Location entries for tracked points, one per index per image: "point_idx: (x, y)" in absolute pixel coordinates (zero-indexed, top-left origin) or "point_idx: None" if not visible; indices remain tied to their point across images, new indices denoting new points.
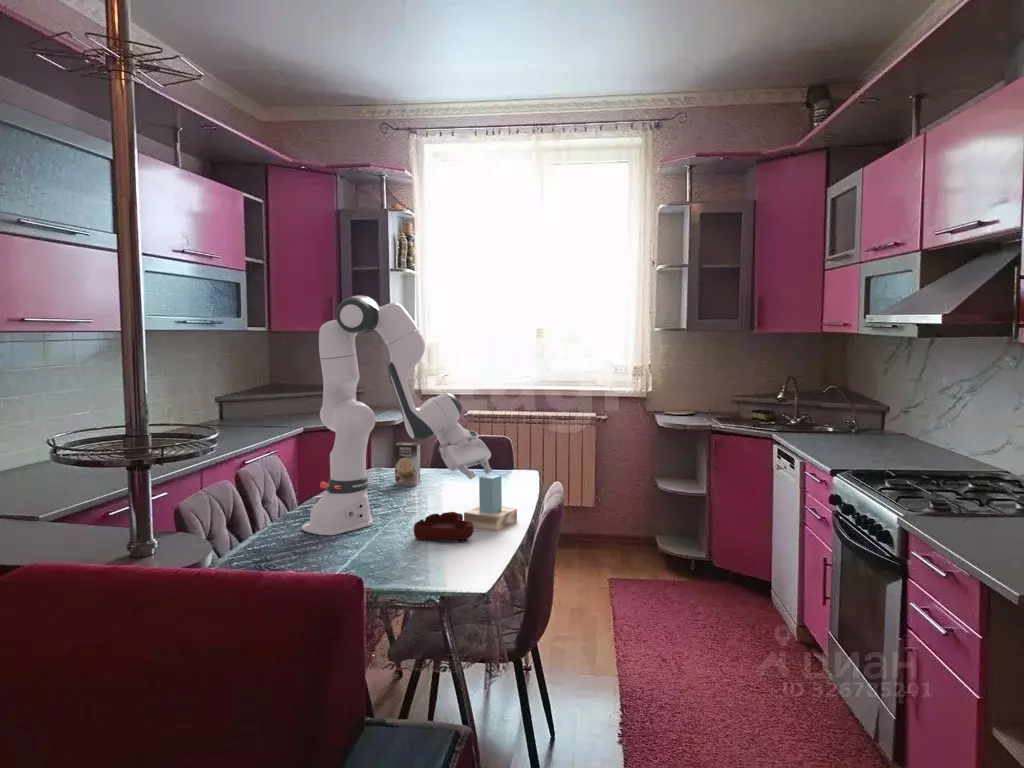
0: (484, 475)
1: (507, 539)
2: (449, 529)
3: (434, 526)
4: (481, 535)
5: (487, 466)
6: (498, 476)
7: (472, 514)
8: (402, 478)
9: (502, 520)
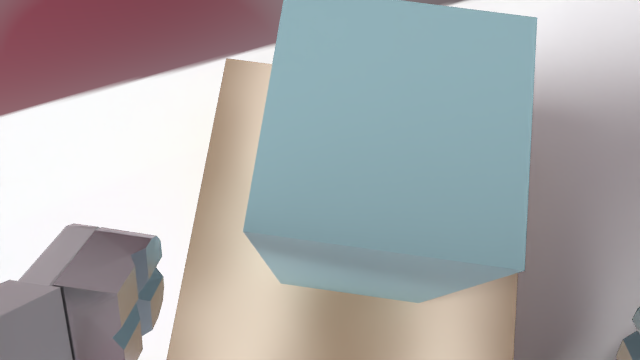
0: (384, 234)
1: (611, 10)
2: None
3: None
4: (623, 181)
5: (56, 301)
6: (358, 1)
7: (513, 325)
8: None
9: None
